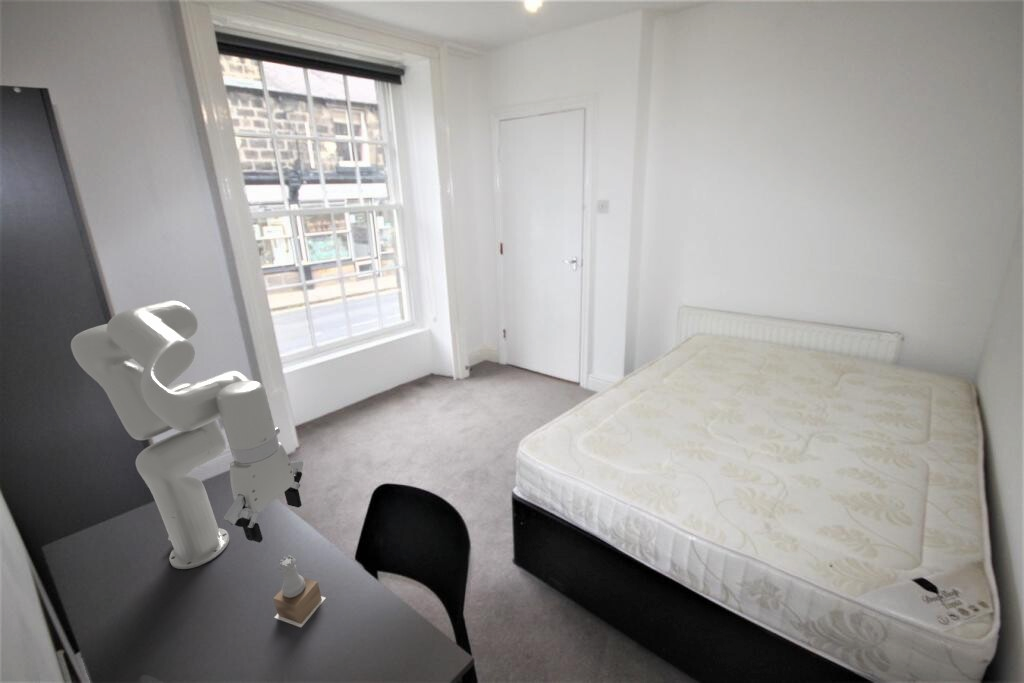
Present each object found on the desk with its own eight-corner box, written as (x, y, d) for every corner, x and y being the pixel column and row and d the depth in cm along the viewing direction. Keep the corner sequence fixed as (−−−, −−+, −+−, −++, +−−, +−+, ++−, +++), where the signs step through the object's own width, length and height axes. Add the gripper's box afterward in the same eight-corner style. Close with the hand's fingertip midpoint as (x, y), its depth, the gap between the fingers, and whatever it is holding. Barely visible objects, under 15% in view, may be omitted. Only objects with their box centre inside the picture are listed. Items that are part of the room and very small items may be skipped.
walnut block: (278, 615, 94) (273, 598, 93) (300, 592, 100) (295, 575, 98) (301, 623, 92) (296, 606, 91) (321, 599, 98) (317, 581, 96)
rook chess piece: (297, 600, 92) (288, 570, 89) (278, 597, 93) (269, 567, 90) (310, 582, 96) (303, 553, 93) (292, 579, 97) (284, 550, 94)
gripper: (277, 420, 91) (294, 490, 97) (195, 471, 76) (222, 550, 82) (306, 426, 89) (322, 497, 95) (228, 480, 73) (253, 560, 79)
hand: (276, 521), depth 88 cm, fingers open, 9 cm apart
